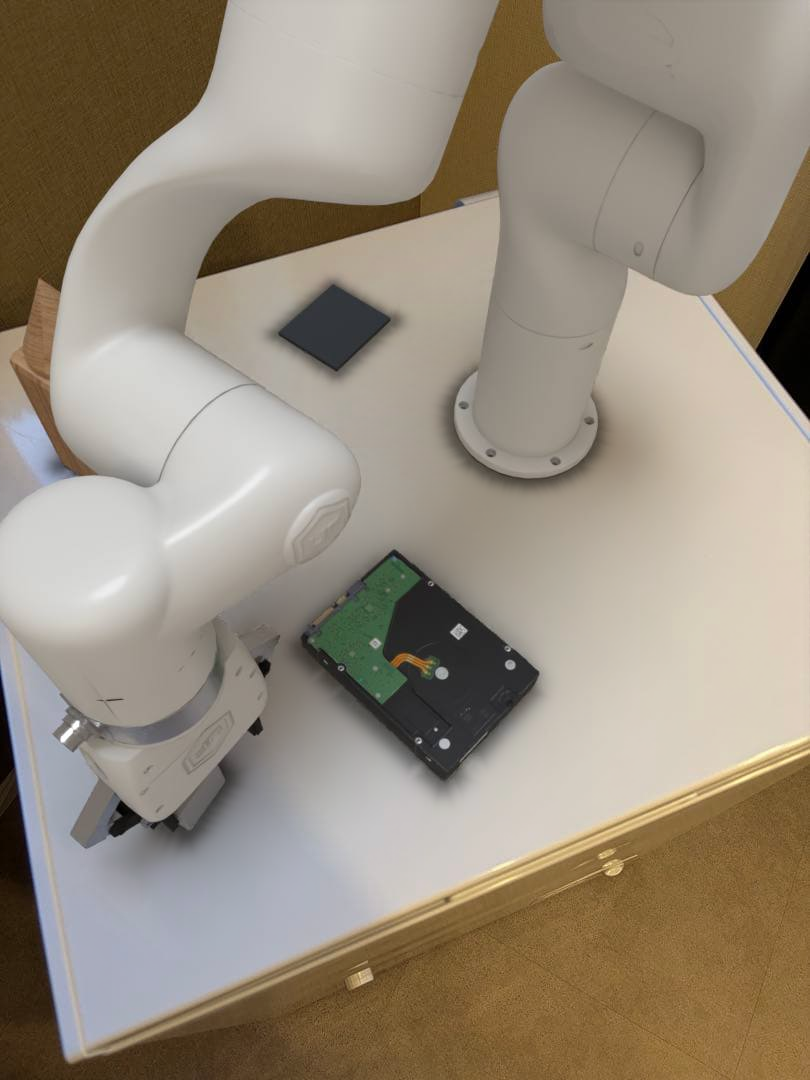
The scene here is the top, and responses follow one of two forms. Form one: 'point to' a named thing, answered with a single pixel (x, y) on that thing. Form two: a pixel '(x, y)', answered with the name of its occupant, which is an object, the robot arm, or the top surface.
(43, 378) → the decorative item
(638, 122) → the robot arm
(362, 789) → the top surface
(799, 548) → the top surface
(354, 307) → the mat
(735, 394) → the top surface
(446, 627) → the disk drive
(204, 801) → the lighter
